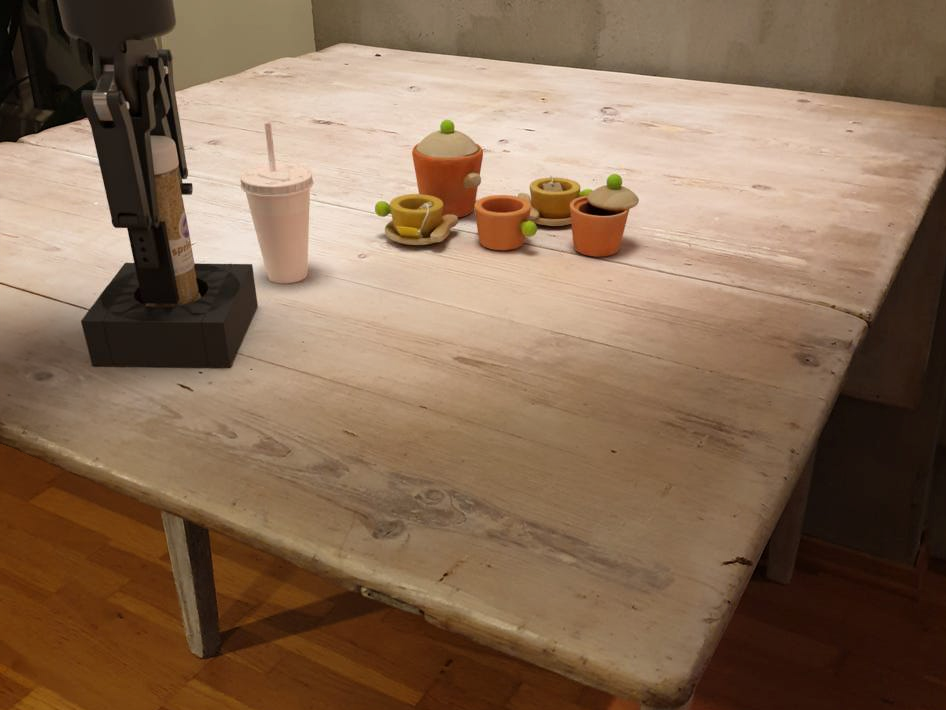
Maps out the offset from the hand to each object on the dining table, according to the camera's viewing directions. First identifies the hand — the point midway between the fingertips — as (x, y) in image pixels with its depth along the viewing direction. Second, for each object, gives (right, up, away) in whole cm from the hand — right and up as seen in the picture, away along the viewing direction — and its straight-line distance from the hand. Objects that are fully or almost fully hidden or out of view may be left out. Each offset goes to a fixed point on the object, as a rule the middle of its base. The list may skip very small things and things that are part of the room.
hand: (169, 287), depth 79 cm
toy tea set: (+28, +10, +22) cm, 37 cm away
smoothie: (+7, +3, +12) cm, 15 cm away
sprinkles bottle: (0, -2, +1) cm, 2 cm away
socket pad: (0, -4, +2) cm, 4 cm away
